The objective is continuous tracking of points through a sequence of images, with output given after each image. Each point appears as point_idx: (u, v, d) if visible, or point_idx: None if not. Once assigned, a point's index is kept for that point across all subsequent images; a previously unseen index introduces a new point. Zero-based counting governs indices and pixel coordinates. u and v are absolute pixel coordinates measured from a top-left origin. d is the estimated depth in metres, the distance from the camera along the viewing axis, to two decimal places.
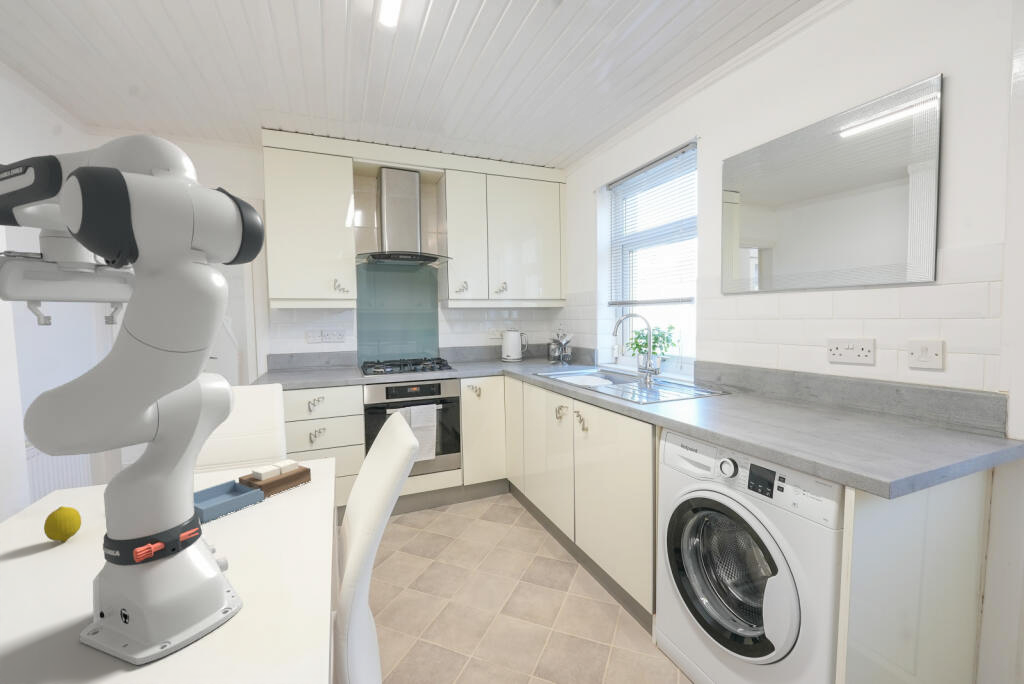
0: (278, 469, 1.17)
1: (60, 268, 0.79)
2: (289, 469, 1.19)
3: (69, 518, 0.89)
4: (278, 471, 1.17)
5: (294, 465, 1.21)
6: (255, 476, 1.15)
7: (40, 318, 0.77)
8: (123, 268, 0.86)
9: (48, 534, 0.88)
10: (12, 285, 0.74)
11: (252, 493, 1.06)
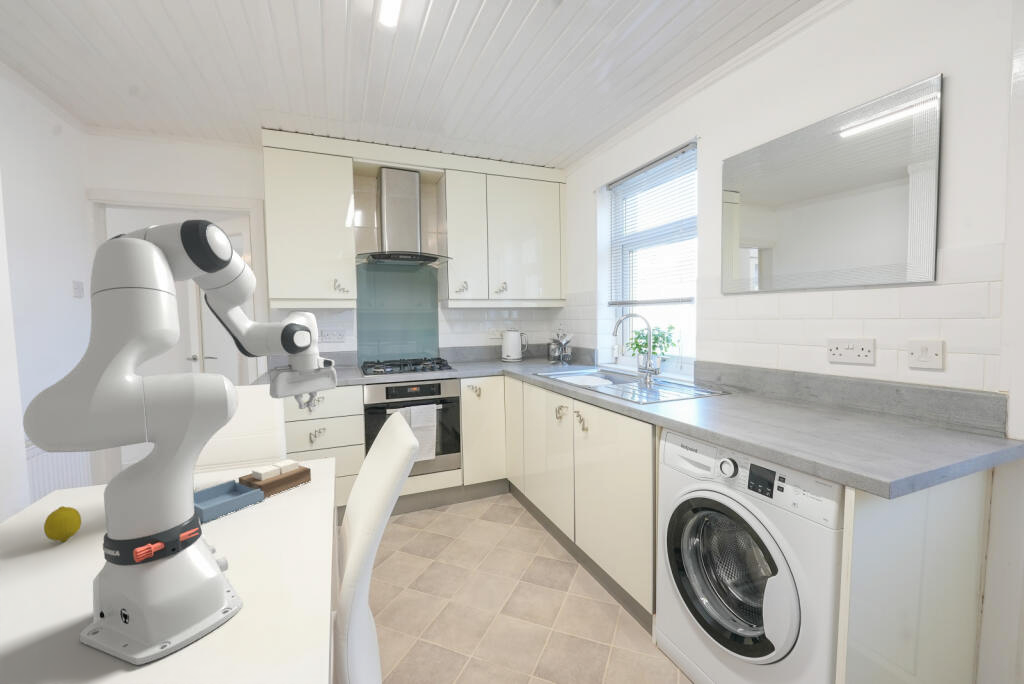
0: (278, 469, 1.17)
1: (300, 374, 1.23)
2: (289, 469, 1.19)
3: (69, 518, 0.89)
4: (278, 471, 1.17)
5: (294, 465, 1.21)
6: (255, 476, 1.15)
7: (302, 404, 1.24)
8: (328, 368, 1.30)
9: (48, 534, 0.88)
10: (281, 388, 1.18)
11: (252, 493, 1.06)
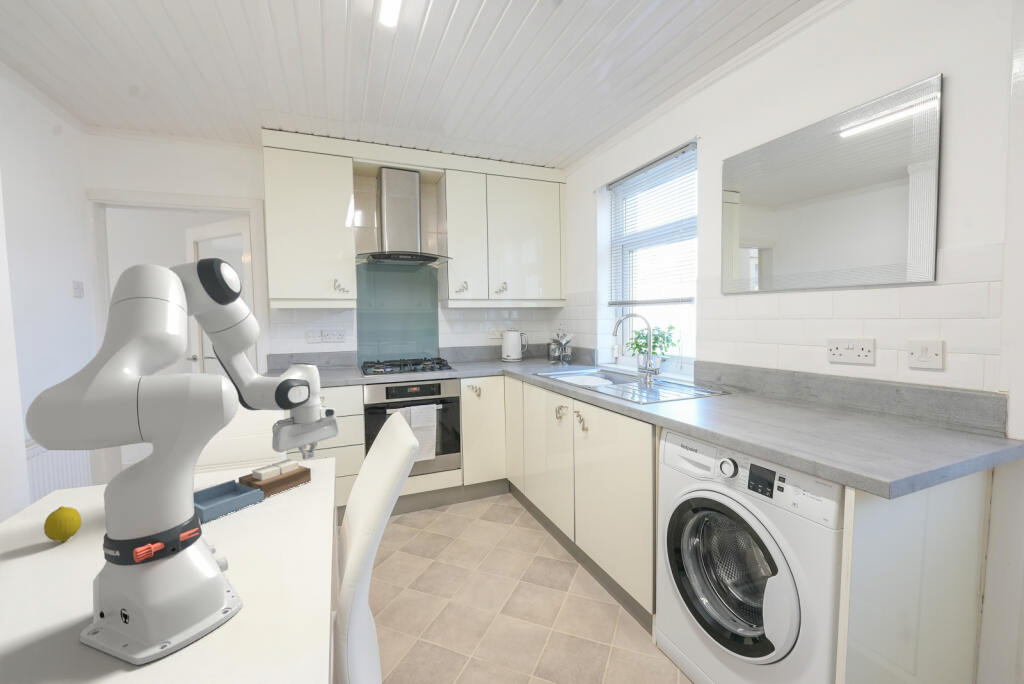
0: (278, 469, 1.17)
1: (303, 425, 1.24)
2: (289, 469, 1.19)
3: (69, 518, 0.89)
4: (278, 471, 1.17)
5: (294, 465, 1.21)
6: (255, 476, 1.15)
7: (305, 455, 1.26)
8: (330, 417, 1.31)
9: (48, 534, 0.88)
10: (283, 442, 1.19)
11: (252, 493, 1.06)
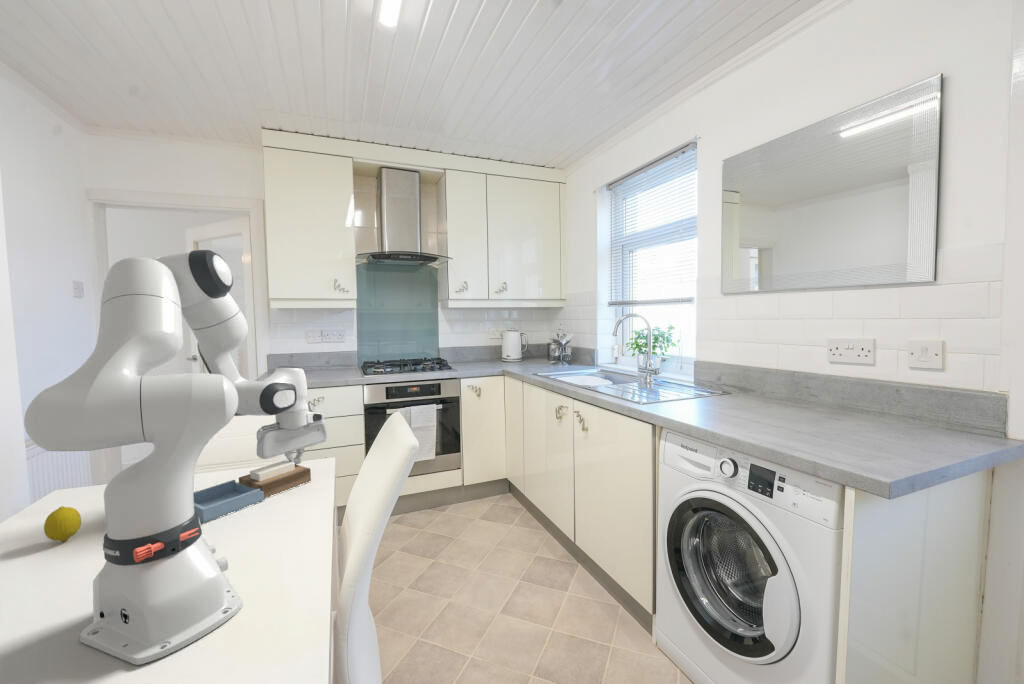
0: (276, 470, 1.16)
1: (289, 431, 1.20)
2: (285, 470, 1.18)
3: (69, 518, 0.89)
4: (276, 472, 1.16)
5: (290, 466, 1.20)
6: (253, 477, 1.14)
7: (292, 461, 1.22)
8: (318, 421, 1.27)
9: (48, 534, 0.88)
10: (268, 449, 1.15)
11: (252, 493, 1.06)
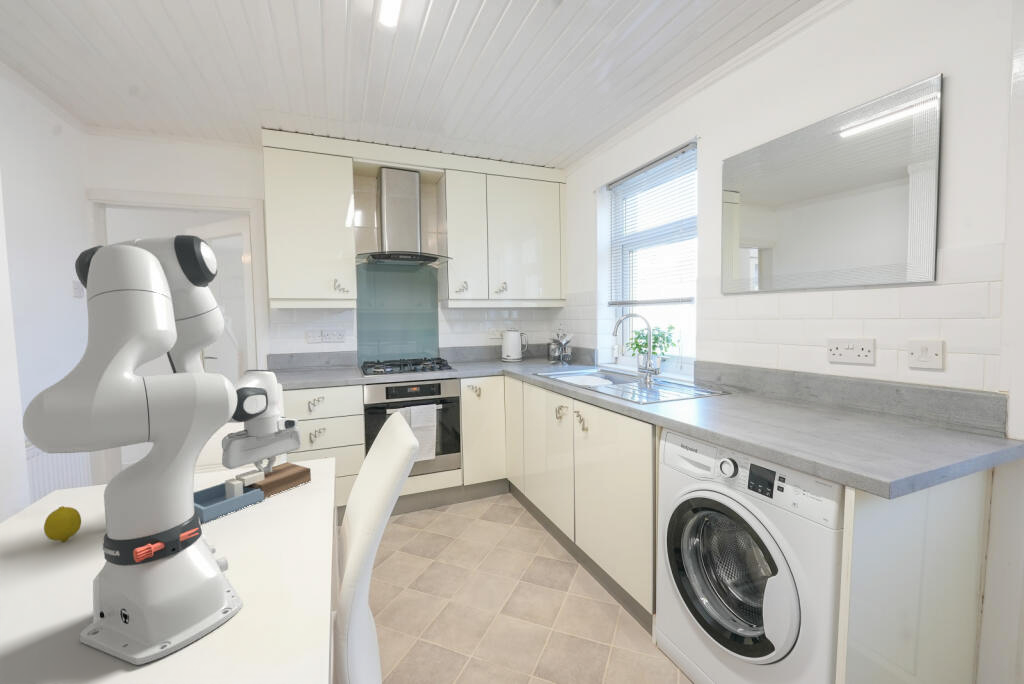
0: (235, 485, 1.07)
1: (258, 439, 1.12)
2: (254, 481, 1.11)
3: (69, 518, 0.89)
4: (238, 484, 1.08)
5: (259, 476, 1.12)
6: None
7: (262, 471, 1.14)
8: (291, 428, 1.19)
9: (48, 534, 0.88)
10: (234, 458, 1.07)
11: (252, 493, 1.06)
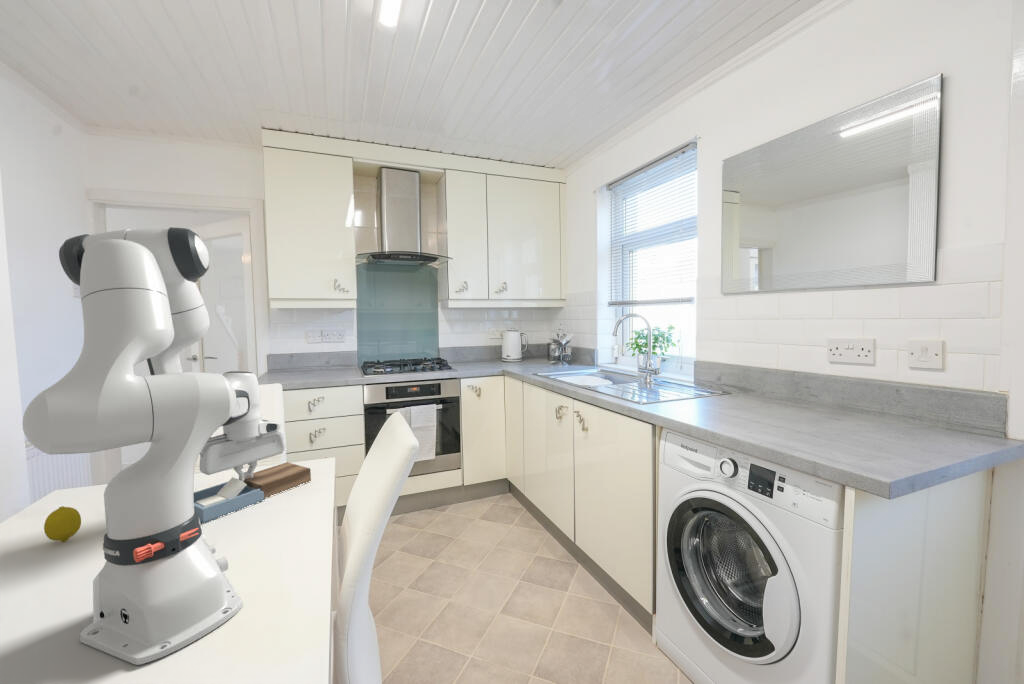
0: None
1: (237, 443, 1.08)
2: (237, 492, 1.08)
3: (69, 518, 0.89)
4: None
5: (240, 486, 1.08)
6: None
7: (242, 476, 1.10)
8: (273, 432, 1.15)
9: (48, 534, 0.88)
10: (212, 463, 1.03)
11: (252, 493, 1.06)
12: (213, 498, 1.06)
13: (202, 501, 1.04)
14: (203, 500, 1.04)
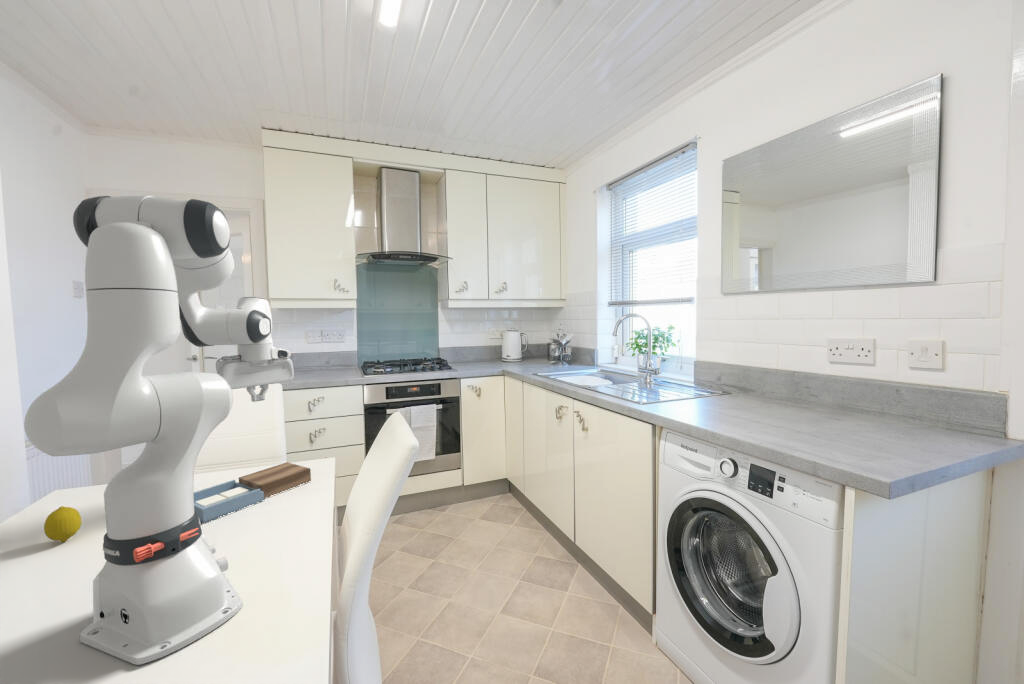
0: None
1: (251, 364, 1.15)
2: None
3: (69, 518, 0.89)
4: None
5: None
6: None
7: (254, 397, 1.17)
8: (284, 359, 1.22)
9: (48, 534, 0.88)
10: (228, 380, 1.10)
11: (252, 493, 1.06)
12: (213, 498, 1.06)
13: (202, 501, 1.04)
14: (203, 500, 1.04)
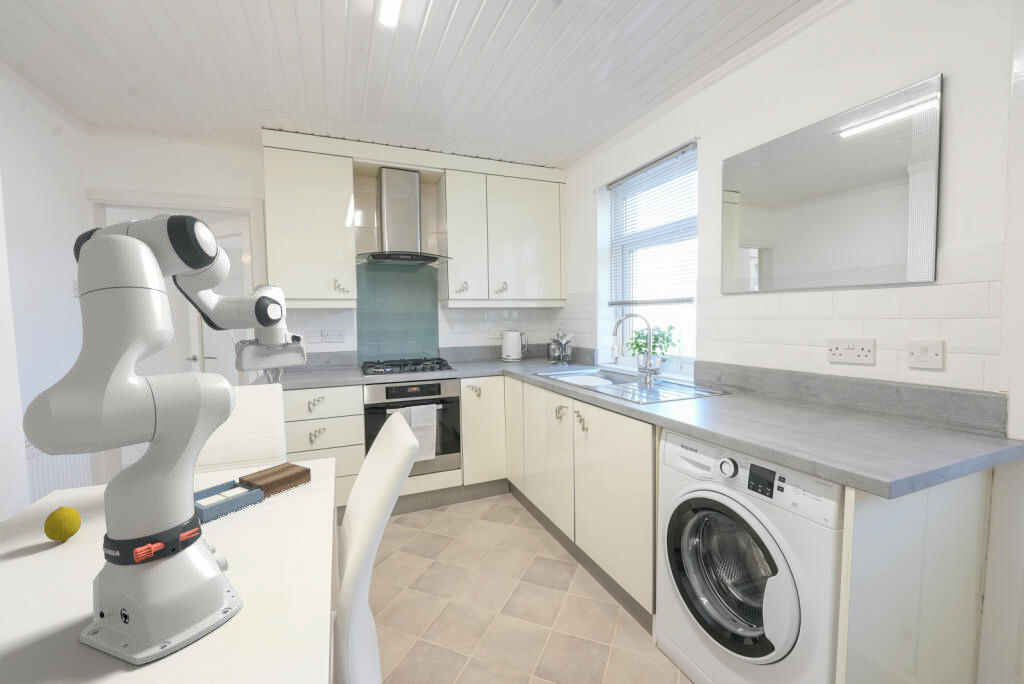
0: None
1: (267, 348, 1.23)
2: None
3: (69, 518, 0.89)
4: None
5: None
6: None
7: (271, 379, 1.25)
8: (297, 343, 1.31)
9: (48, 534, 0.88)
10: (246, 362, 1.18)
11: (252, 493, 1.06)
12: (213, 498, 1.06)
13: (202, 501, 1.04)
14: (203, 500, 1.04)
